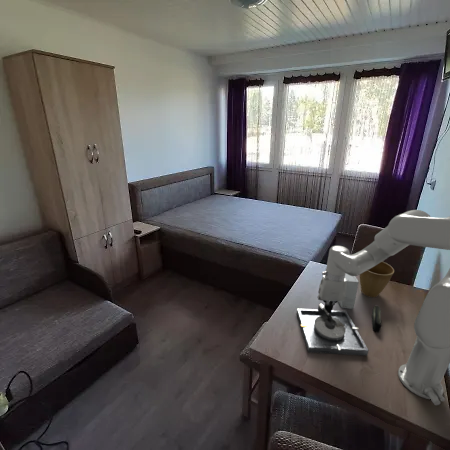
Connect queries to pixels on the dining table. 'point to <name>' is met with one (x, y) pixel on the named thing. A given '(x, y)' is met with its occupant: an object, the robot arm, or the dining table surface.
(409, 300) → the dining table surface
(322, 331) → the dial
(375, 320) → the green cucumber
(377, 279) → the plant pot
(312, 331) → the housing
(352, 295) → the skincare box
